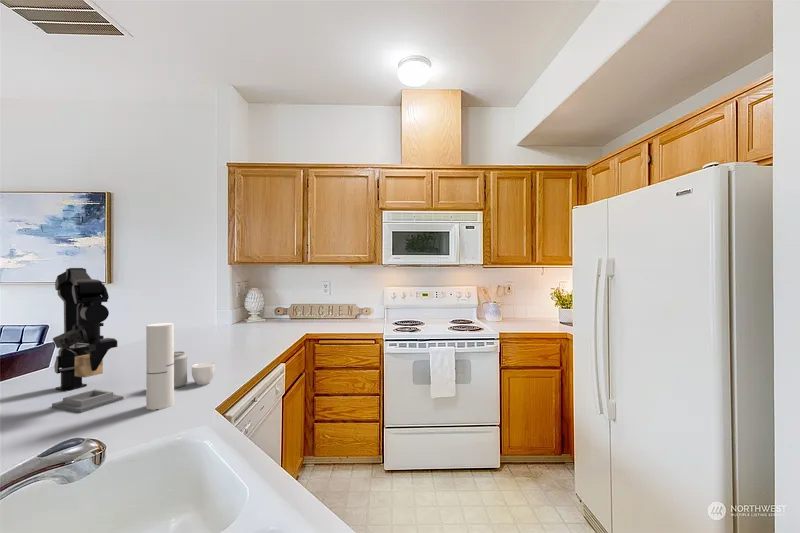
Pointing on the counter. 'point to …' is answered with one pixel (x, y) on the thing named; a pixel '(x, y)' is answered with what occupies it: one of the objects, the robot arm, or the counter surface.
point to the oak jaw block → (86, 367)
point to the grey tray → (87, 400)
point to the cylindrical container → (159, 365)
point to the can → (180, 369)
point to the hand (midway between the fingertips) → (88, 369)
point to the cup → (203, 373)
